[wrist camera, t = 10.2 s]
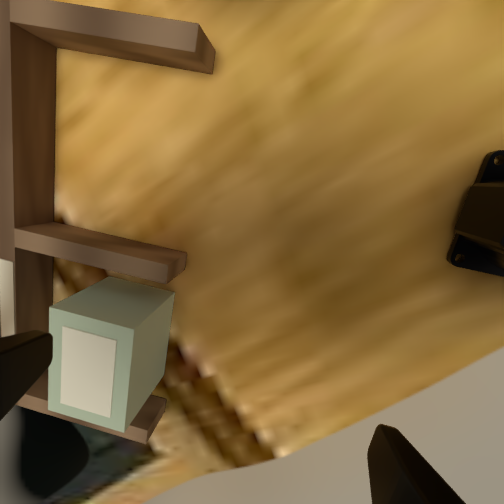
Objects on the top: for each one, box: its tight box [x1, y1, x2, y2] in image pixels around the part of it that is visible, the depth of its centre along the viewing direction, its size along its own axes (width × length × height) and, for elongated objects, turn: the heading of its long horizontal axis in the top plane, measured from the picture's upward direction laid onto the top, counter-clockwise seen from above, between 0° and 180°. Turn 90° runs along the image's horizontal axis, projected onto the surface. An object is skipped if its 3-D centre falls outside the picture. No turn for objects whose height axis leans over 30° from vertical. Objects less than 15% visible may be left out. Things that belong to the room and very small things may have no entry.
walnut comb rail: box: [0, 0, 215, 444], centre depth 19 cm, size 11×26×3 cm, turn 169°
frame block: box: [48, 276, 175, 433], centre depth 19 cm, size 5×7×6 cm
